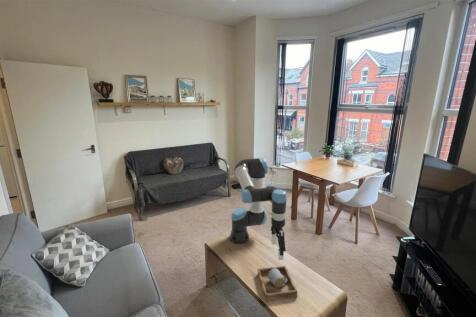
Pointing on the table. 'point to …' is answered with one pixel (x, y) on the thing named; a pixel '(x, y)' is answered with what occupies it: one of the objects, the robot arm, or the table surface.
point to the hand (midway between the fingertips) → (277, 251)
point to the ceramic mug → (276, 278)
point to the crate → (271, 291)
